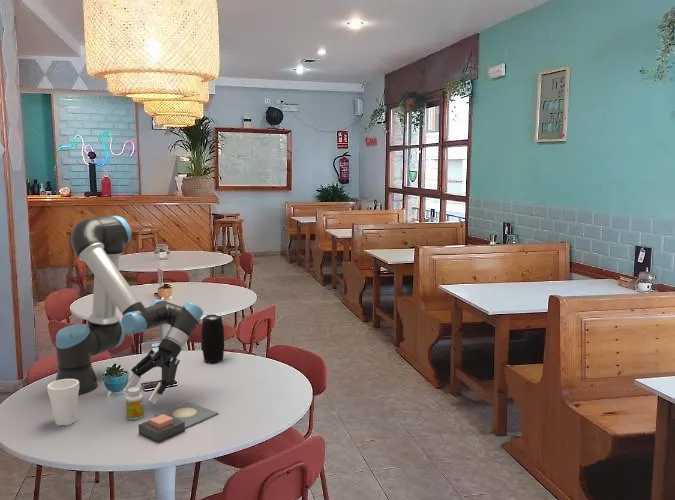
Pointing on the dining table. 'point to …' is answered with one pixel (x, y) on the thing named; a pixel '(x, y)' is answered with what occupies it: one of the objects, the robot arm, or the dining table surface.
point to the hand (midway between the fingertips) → (138, 397)
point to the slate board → (189, 413)
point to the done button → (161, 421)
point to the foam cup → (64, 400)
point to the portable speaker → (212, 339)
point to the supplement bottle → (134, 404)
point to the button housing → (161, 430)
